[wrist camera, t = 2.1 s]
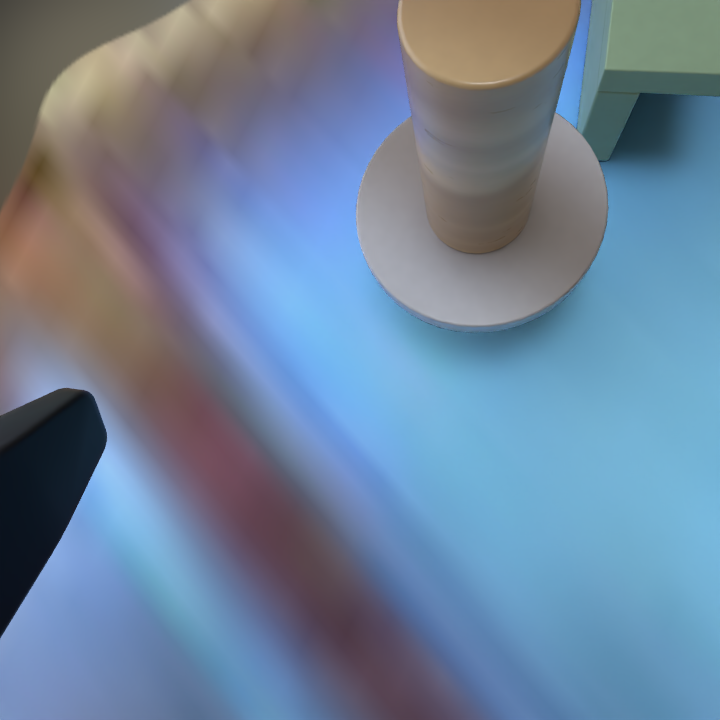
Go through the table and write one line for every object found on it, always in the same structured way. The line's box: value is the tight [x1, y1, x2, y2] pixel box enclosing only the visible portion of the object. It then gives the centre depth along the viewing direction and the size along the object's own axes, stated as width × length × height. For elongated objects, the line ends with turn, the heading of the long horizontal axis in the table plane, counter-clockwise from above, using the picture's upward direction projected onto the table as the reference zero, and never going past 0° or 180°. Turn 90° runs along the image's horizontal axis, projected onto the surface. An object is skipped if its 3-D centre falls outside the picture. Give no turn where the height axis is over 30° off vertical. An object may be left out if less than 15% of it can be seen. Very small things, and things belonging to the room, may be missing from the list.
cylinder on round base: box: [356, 0, 608, 333], centre depth 15 cm, size 7×7×12 cm
